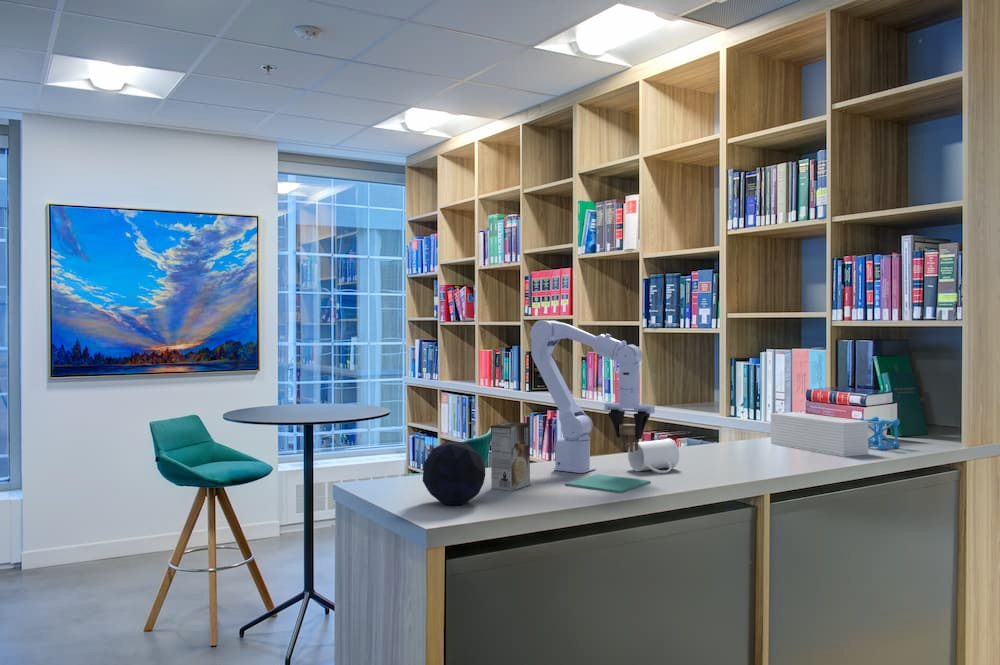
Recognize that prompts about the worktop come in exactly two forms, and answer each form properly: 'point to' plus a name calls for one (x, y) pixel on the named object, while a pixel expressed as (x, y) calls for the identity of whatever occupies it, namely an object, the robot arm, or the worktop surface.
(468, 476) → the decorative orb
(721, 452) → the worktop surface
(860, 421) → the stack of papers
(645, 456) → the mug
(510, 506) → the worktop surface
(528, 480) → the coffee box
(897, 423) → the molecular structure
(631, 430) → the walnut stool
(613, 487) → the teal mat
